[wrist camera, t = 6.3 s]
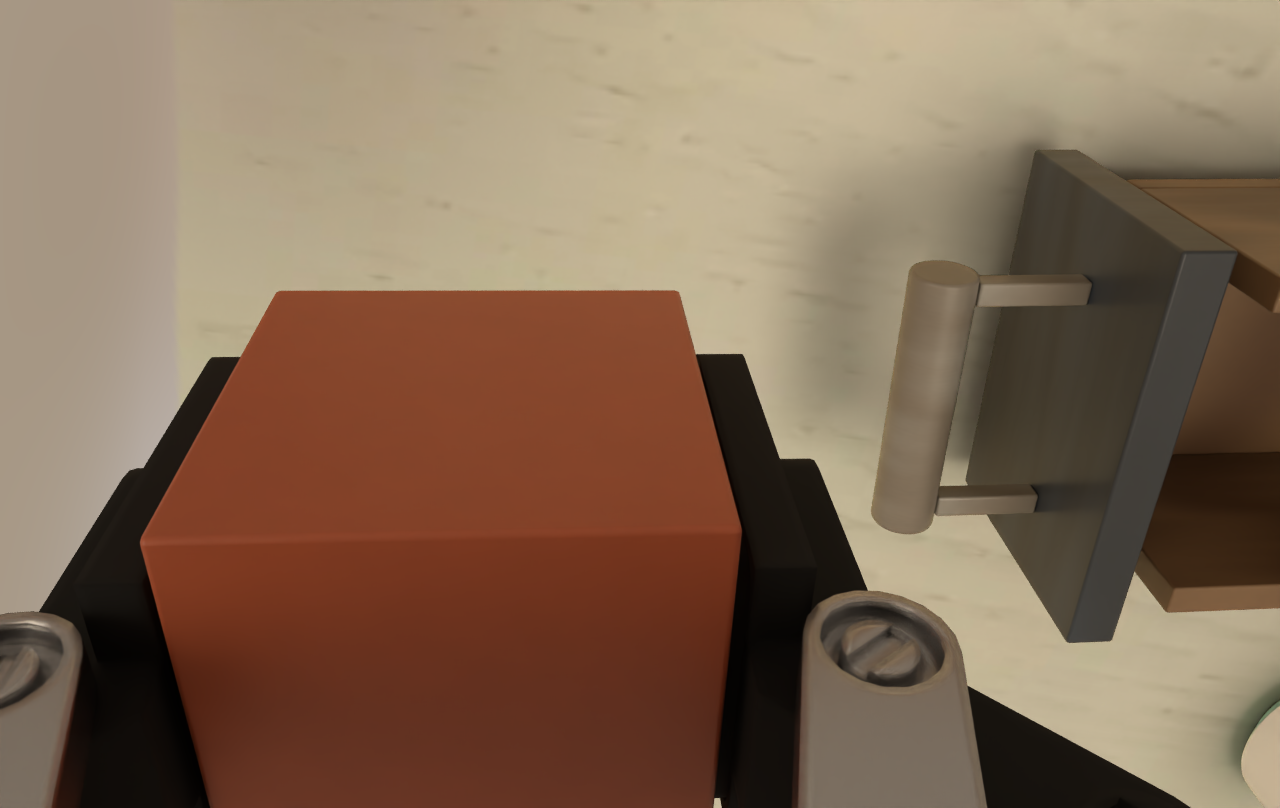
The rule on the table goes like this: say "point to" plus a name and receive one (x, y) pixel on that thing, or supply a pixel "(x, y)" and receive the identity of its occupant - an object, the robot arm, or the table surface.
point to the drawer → (1108, 394)
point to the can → (1264, 759)
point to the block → (454, 557)
